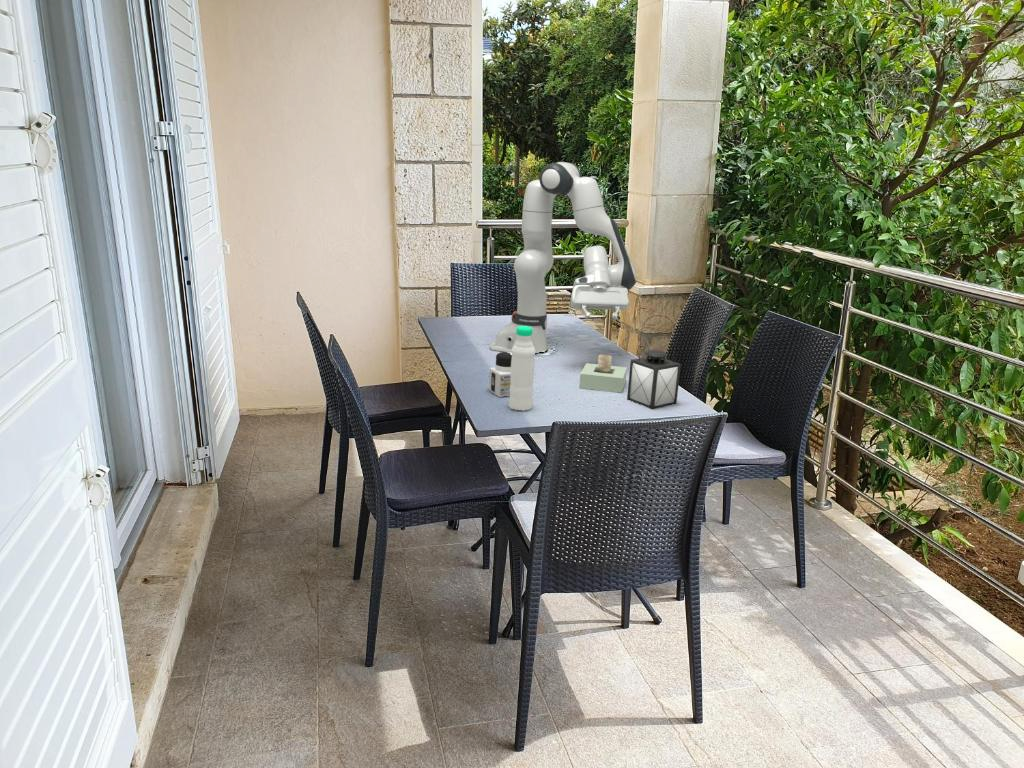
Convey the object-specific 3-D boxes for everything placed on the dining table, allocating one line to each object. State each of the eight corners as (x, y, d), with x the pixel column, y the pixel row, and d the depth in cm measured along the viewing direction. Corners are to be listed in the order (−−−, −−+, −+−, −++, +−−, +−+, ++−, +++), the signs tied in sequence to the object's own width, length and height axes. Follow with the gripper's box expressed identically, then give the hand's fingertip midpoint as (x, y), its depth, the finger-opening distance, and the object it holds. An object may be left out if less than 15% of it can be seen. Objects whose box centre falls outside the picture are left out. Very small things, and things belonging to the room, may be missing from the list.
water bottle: (507, 404, 245) (511, 324, 238) (530, 404, 246) (535, 324, 239) (509, 411, 238) (513, 329, 231) (533, 411, 239) (538, 330, 232)
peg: (595, 386, 268) (597, 357, 265) (596, 382, 272) (599, 353, 269) (608, 387, 267) (611, 358, 264) (610, 383, 271) (612, 355, 268)
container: (499, 397, 251) (501, 357, 247) (488, 390, 257) (490, 351, 254) (521, 395, 254) (523, 355, 251) (509, 388, 261) (511, 349, 257)
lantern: (626, 399, 255) (634, 313, 247) (651, 394, 262) (659, 310, 253) (652, 409, 247) (661, 320, 238) (676, 404, 253) (686, 317, 245)
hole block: (579, 388, 264) (580, 373, 263) (585, 377, 278) (586, 363, 276) (621, 392, 262) (623, 378, 260) (625, 381, 275) (627, 367, 273)
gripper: (625, 291, 285) (628, 324, 278) (568, 289, 283) (570, 322, 276) (629, 280, 279) (633, 314, 273) (571, 278, 277) (573, 312, 271)
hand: (601, 318), depth 275 cm, fingers open, 8 cm apart
